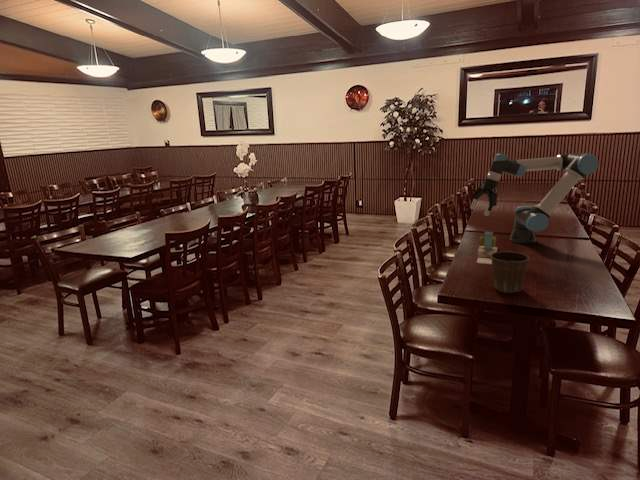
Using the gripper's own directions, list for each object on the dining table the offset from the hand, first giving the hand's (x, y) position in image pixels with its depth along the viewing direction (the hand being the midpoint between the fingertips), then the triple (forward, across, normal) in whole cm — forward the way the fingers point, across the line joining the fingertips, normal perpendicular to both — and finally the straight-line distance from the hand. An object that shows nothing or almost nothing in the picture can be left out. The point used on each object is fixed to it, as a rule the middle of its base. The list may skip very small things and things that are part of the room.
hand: (478, 212), depth 258 cm
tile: (+23, +28, -7) cm, 37 cm away
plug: (+21, +19, +2) cm, 28 cm away
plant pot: (+24, +65, -26) cm, 74 cm away
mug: (+20, +10, +10) cm, 24 cm away
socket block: (+21, +19, +2) cm, 28 cm away
